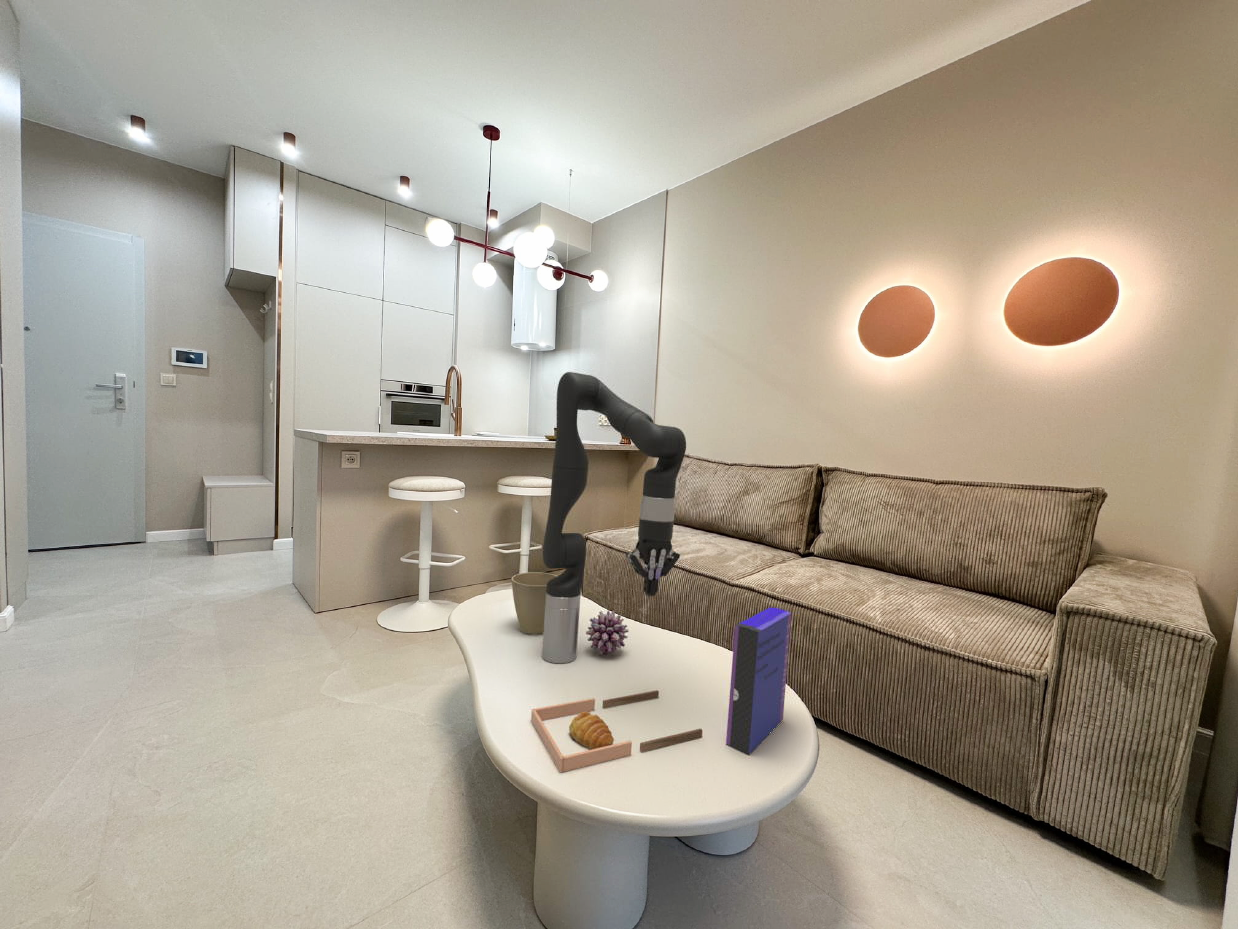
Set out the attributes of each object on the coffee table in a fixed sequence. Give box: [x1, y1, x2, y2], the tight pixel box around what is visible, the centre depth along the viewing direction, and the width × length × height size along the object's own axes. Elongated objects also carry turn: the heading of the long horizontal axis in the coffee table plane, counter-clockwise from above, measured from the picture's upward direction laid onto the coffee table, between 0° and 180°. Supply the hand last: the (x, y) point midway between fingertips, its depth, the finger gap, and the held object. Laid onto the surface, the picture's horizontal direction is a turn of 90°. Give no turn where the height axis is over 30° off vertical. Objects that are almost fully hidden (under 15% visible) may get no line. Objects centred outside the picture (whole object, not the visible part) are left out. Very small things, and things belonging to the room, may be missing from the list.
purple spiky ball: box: [585, 610, 629, 655], centre depth 136 cm, size 12×12×12 cm
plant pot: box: [511, 571, 558, 635], centre depth 149 cm, size 15×15×16 cm
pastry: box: [568, 711, 615, 750], centre depth 95 cm, size 9×7×4 cm
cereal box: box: [725, 606, 792, 756], centre depth 101 cm, size 17×5×24 cm, turn 141°
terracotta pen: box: [530, 697, 633, 774], centre depth 95 cm, size 17×14×2 cm
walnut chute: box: [602, 689, 703, 753], centre depth 103 cm, size 17×14×2 cm
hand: (650, 594), depth 108 cm, fingers closed
